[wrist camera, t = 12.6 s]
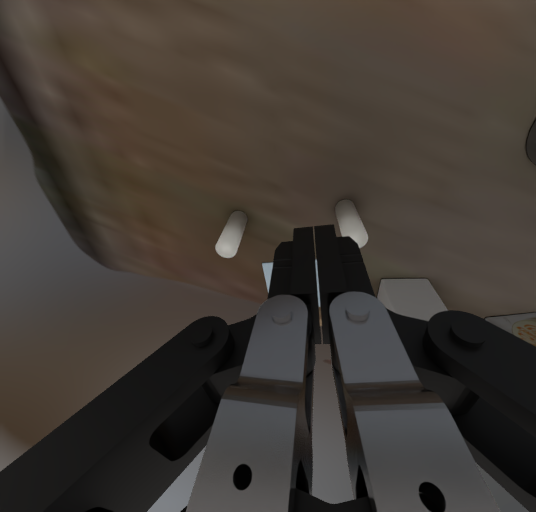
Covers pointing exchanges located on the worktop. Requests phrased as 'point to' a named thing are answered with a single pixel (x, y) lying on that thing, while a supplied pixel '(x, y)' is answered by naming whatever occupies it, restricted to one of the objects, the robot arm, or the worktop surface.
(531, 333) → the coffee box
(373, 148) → the worktop surface
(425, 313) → the milk carton
